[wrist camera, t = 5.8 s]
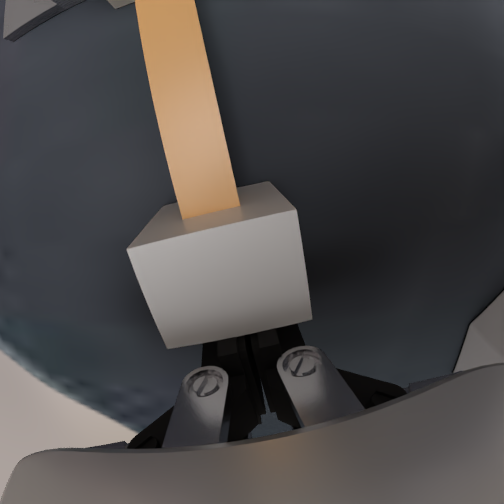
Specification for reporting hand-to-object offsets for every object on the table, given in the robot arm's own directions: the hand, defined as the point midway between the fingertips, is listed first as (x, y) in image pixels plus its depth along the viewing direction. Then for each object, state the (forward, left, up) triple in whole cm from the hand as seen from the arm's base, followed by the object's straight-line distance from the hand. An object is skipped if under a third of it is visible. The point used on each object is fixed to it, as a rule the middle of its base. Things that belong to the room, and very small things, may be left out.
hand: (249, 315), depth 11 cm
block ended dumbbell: (0, -10, -1) cm, 10 cm away
